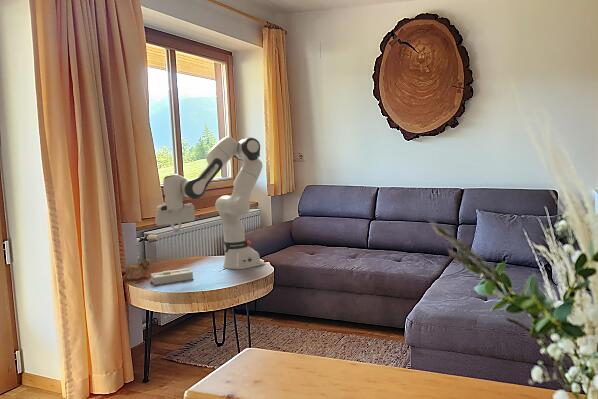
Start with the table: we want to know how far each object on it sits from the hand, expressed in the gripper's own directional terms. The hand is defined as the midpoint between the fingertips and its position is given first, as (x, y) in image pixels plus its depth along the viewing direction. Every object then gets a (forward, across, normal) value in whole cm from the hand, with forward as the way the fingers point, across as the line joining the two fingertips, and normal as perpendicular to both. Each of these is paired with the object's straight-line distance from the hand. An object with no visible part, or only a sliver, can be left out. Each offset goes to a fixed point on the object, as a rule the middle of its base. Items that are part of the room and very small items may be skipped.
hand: (176, 231), depth 267 cm
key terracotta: (+22, +4, +9) cm, 24 cm away
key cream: (+22, +14, +9) cm, 27 cm away
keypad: (+23, +7, +9) cm, 25 cm away
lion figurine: (+23, +20, -10) cm, 32 cm away
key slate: (+22, 0, +9) cm, 24 cm away
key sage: (+21, +9, +9) cm, 24 cm away
